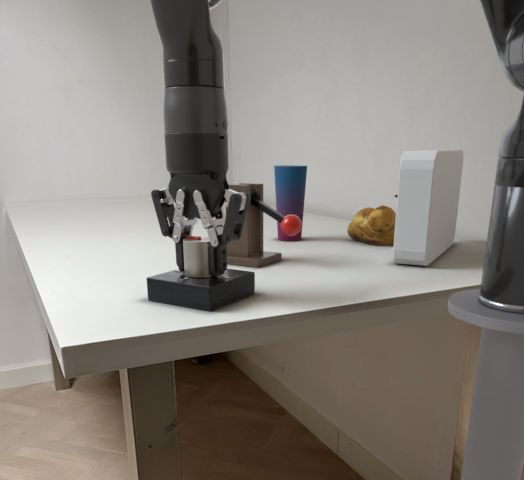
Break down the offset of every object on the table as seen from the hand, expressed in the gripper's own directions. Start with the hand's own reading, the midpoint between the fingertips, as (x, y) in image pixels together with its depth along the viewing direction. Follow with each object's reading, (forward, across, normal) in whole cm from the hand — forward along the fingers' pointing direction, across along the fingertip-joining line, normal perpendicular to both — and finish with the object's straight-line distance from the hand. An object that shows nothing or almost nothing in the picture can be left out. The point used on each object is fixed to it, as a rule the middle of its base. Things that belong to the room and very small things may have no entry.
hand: (201, 272), depth 71 cm
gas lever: (-4, -5, +24) cm, 25 cm away
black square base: (+3, 0, 0) cm, 3 cm away
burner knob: (0, 0, 0) cm, 0 cm away
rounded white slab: (+4, +16, +47) cm, 50 cm away
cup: (+4, -14, +49) cm, 51 cm away
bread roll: (+4, +3, +55) cm, 55 cm away
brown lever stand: (+3, -9, +24) cm, 26 cm away
